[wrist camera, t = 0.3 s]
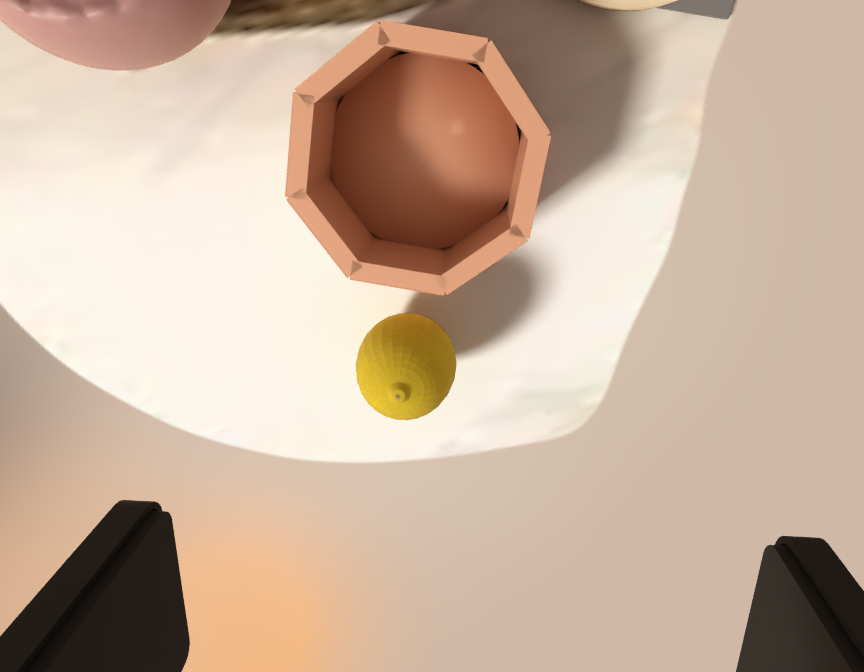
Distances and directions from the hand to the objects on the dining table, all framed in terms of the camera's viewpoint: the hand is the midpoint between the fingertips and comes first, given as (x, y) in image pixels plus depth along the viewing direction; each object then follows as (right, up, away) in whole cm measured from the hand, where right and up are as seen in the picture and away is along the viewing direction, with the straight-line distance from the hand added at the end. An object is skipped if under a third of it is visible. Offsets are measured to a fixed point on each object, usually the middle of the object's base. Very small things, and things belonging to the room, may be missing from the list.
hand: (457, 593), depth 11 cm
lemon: (-2, +4, +31) cm, 31 cm away
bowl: (-1, +14, +27) cm, 30 cm away
